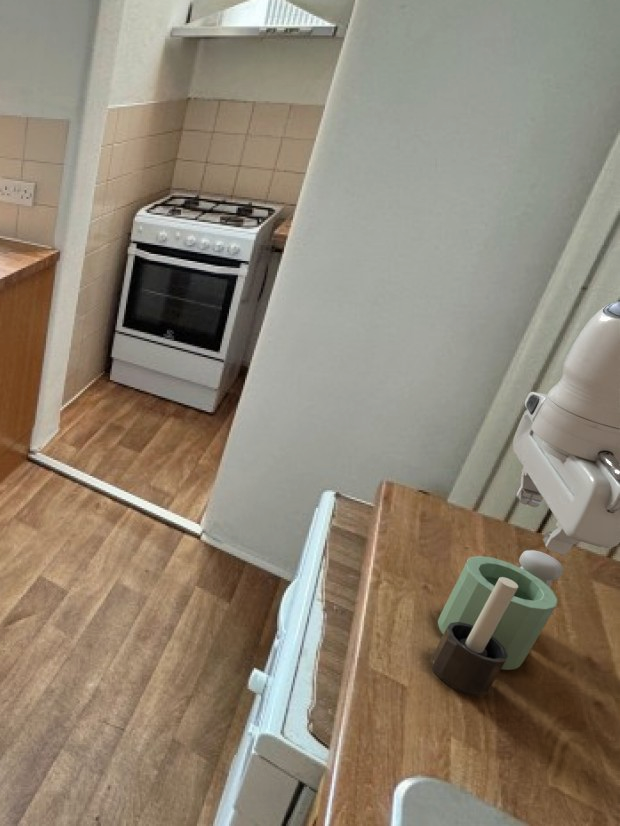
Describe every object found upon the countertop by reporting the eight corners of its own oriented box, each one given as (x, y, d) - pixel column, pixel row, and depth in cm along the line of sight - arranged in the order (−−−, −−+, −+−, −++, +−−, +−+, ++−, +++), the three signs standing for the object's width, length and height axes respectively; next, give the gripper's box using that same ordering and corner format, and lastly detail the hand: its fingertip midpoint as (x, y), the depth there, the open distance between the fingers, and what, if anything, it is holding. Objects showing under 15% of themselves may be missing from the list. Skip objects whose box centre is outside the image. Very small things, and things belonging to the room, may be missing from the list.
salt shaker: (482, 621, 93) (516, 557, 88) (483, 599, 97) (516, 537, 92) (536, 645, 89) (574, 580, 84) (535, 622, 93) (572, 558, 88)
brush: (470, 669, 85) (519, 579, 78) (476, 685, 83) (527, 594, 76) (444, 659, 86) (491, 570, 80) (449, 675, 84) (497, 585, 78)
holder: (480, 669, 86) (499, 634, 83) (493, 706, 81) (514, 670, 78) (426, 648, 89) (443, 614, 86) (435, 683, 84) (453, 647, 81)
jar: (510, 632, 91) (543, 573, 87) (531, 681, 84) (568, 620, 79) (431, 604, 96) (459, 547, 91) (445, 649, 88) (476, 589, 84)
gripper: (680, 493, 60) (613, 594, 65) (592, 400, 76) (544, 487, 81) (590, 471, 63) (533, 569, 68) (524, 386, 79) (482, 471, 84)
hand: (539, 524), depth 75 cm, fingers open, 8 cm apart
